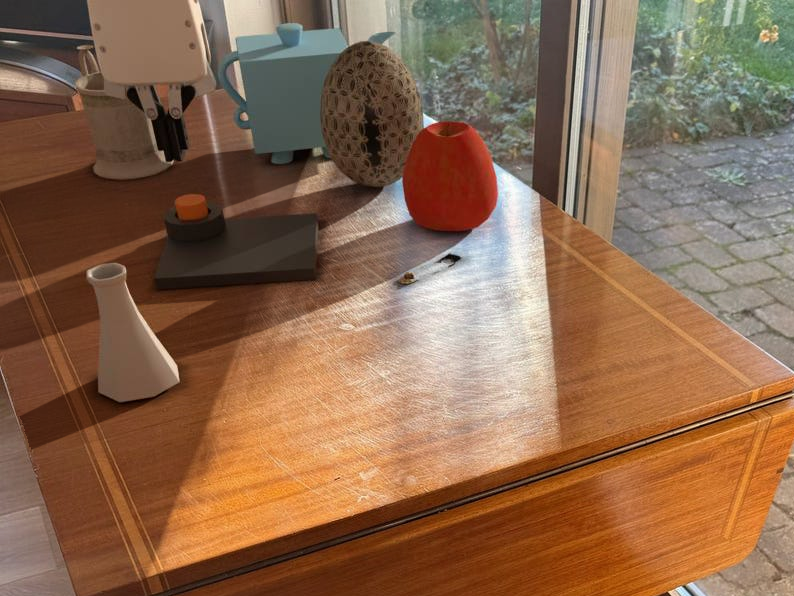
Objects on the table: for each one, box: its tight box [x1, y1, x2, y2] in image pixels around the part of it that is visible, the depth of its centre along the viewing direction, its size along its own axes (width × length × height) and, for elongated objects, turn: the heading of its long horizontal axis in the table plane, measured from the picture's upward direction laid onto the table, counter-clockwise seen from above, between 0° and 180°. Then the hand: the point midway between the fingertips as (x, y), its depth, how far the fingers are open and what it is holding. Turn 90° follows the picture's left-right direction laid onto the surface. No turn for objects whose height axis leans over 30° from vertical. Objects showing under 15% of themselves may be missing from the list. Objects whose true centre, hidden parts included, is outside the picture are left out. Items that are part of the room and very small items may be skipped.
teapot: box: [217, 22, 396, 165], centre depth 122 cm, size 22×11×14 cm, turn 102°
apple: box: [401, 120, 499, 232], centre depth 105 cm, size 10×10×10 cm
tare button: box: [174, 193, 209, 220], centre depth 105 cm, size 3×3×2 cm
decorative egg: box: [320, 40, 425, 188], centre depth 112 cm, size 12×12×15 cm
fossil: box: [397, 252, 462, 284], centre depth 100 cm, size 8×2×1 cm, turn 136°
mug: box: [74, 44, 175, 181], centre depth 121 cm, size 14×10×12 cm
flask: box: [86, 262, 180, 403], centre depth 83 cm, size 7×7×10 cm
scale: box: [153, 201, 320, 291], centre depth 103 cm, size 16×15×3 cm
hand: (175, 157), depth 101 cm, fingers closed
